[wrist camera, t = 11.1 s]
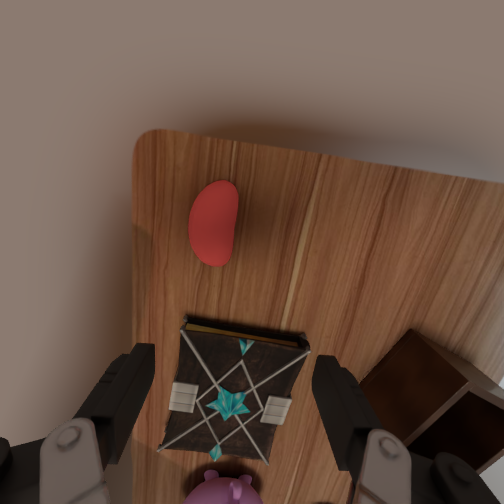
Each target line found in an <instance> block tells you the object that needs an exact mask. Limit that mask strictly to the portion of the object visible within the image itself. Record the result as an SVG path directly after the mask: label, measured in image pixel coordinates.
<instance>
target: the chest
mask: <svg viewBox="0 0 504 504" xmlns="http://www.w3.org/2000/svg"><path fill="white" fill-rule="evenodd" d="M359 386H360V388H361V389H362V391H363V393H364V394H365V397H366V398H367V400H368V401H369V403H370V405H371V407H372V408H373V410H374V412H375V414H376V415H377V417H378V419H379V421H380V422H381V424H382V426H383V428H384V429H385V431H388V432H390V433H391V434H393V435H394V436H396V437H397V438H398V439H399V440H400V441H401V442H402V443H403V444H404V446H405V447H406V448H407V450H408V451H410V452H413V453H415V454H418V455H421V456H423V457H426V458H429V459H432V460H434V459H435V457H436V455H437V454H438V453H440V452H447V453H450V454H453V455H455V456H457V457H459V458H460V459H462V460H463V461H465V462H466V463H467V464H469V465H470V466H471V467H472V468H473V469H474V470H475V471H476V472H477V473H478V475H479V474H481V473H482V472H483V471H484V470H486V469H487V468H488V467H489V466H491V465H492V464H493V463H494V462H496V461H497V460H498V459H500V458H501V457H502V456H503V455H504V390H503V389H502V388H501V387H500V386H499V385H497V384H496V383H495V382H494V381H492V380H491V379H490V378H489V377H487V376H486V375H485V374H484V373H483V372H481V371H480V370H479V369H478V368H476V367H475V366H474V365H473V364H471V363H469V362H468V361H466V360H464V359H462V358H461V357H459V356H457V355H456V354H454V353H452V352H450V351H449V350H447V349H445V348H443V347H442V346H440V345H438V344H437V343H435V342H433V341H431V340H430V339H428V338H426V337H424V336H423V335H421V334H419V333H418V332H416V331H414V330H412V329H410V330H409V331H408V332H407V333H406V334H405V335H404V336H403V337H402V339H401V340H400V341H399V342H398V343H397V344H396V345H395V346H394V347H393V348H392V349H391V351H390V352H389V353H388V354H387V355H386V356H385V357H384V358H383V359H382V360H381V361H380V363H379V364H378V365H377V366H376V367H375V368H374V369H373V370H372V371H371V372H370V373H369V375H368V376H367V377H366V378H365V379H364V380H363V381H362V382H361V383H360V384H359Z"/></svg>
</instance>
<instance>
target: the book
mask: <svg viewBox="0 0 504 504" xmlns="http://www.w3.org/2000/svg"><path fill="white" fill-rule="evenodd" d="M183 321H184V322H186V325H185V326H184V325H183V326H181V328H180V332H181V338H180V353H179V367H178V370H177V373H176V376H175V379H174V382H173V387H172V393H171V398H170V404H169V410H172V414H171V417H170V420H169V422H168V425H167V426H166V428H165V431H164V432H165V433H166V434H165V437H164V440H163V442H162V445H161V444H159V446H158V449H157V451H158V452H160V451H161V450H163V449H173V450H186V451H197V452H205V453H209V454H210V456H211V457H212V459H213V460H214V462H215V461H216V460H217V459H218V458H219V457H220V456H221V455H229V456H236V457H242V458H247V459H253V460H258V461H264V462H265V464H266V465H269V460H268V459H269V457H270V452H271V447H272V443H273V438H274V433H275V430H276V427H277V425H278V424H279V425H283V422H284V420H285V417H286V414H287V412H288V409H289V406H290V404H291V401H292V398H291V393H290V392H291V390H292V387H293V385H294V382H295V380H296V378H297V376H298V374H299V372H300V370H301V368H302V366H303V363H304V361H305V359H306V357H307V355H308V354H309V353H311V350H310V345H309V342H308V341H307V340H306V339H307V337H306V334H305V333H303V334H302V335H300V336H297V335H290V334H282V333H275V332H268V331H262V330H256V329H250V328H244V327H238V326H232V325H226V324H221V323H215V322H210V321H205V320H200V319H195V318H190V317H188V316H187V315H185V316H184V318H183Z"/></svg>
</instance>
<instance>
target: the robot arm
mask: <svg viewBox="0 0 504 504" xmlns="http://www.w3.org/2000/svg"><path fill="white" fill-rule="evenodd" d="M154 374H155V345H154V344H150V343H137V344H136V345H135V346H134V348H133V349H132V351H131V353H130V354H122V355H120V356H119V357H118V358H117V359H115V360H114V361H113V362H112V363H111V364H110V366H109V367H108V368H107V370H106V371H105V374H104V375H103V376H102V377H101V379H100V380H99V383H97V384H96V386H95V387H94V389H93V390H92V391H91V393H90V394H89V396H88V397H87V399H86V400H85V402H84V403H83V404H82V406H81V407H80V409H79V410H78V412H77V413H76V414H75V416H74V417H73V418H72V419H71V420H69V421H67V422H65V423H63V424H61V425H59V426H58V427H57V428H55V429H54V430H53V431H52V432H51V433H50V434H49V435H48V436H47V437H46V438H43V439H40V440H36V441H33V442H29V443H25V444H21V445H17V446H13V447H10V444H9V442H8V440H6V439H5V438H2V437H0V504H111V503H110V498H109V493H108V488H107V484H106V481H105V478H104V470H105V468H106V466H107V464H118V462H119V459H120V457H121V455H122V452H123V450H124V448H125V445H126V443H127V440H128V438H129V436H130V434H131V431H132V429H133V427H134V424H135V422H136V420H137V417H138V415H139V413H140V410H141V408H142V406H143V403H144V401H145V399H146V396H147V394H148V392H149V389H150V387H151V385H152V382H153V379H154ZM312 391H313V395H314V398H315V401H316V404H317V407H318V410H319V413H320V416H321V419H322V421H323V424H324V427H325V430H326V433H327V436H328V439H329V442H330V445H331V448H332V451H333V454H334V457H335V460H336V463H337V466H338V469H339V471H349V472H350V475H351V477H352V481H351V484H350V488H349V492H348V497H347V501H346V504H501V503H500V502H499V501H498V500H497V498H496V497H495V496H494V494H493V493H492V492H491V490H490V489H489V488H488V486H487V485H486V484H485V482H484V481H483V480H482V478H481V477H480V476H479V475H478V473H477V472H476V471H475V470H474V469H473V468H472V467H471V466H470V465H469V464H467V463H466V462H465V461H463V460H462V459H460V458H459V457H457V456H455V455H453V454H450V453H447V452H440V453H438V454H437V455H436V457H435V459H434V460H432V459H429V458H426V457H423V456H421V455H418V454H415V453H413V452H410V451H408V450H407V448H406V447H405V446H404V444H403V443H402V442H401V441H400V440H399V439H398V438H397V437H396V436H394V435H393V434H391V433H390V432H388V431H385V429H384V428H383V426H382V424H381V422H380V421H379V419H378V417H377V415H376V414H375V412H374V410H373V408H372V407H371V405H370V403H369V401H368V400H367V398H366V397H365V394H364V393H363V391H362V389H361V388H360V386H359V384H358V382H357V380H356V379H355V377H354V376H353V375H352V374H351V373H350V372H349V371H348V370H347V369H346V368H343V367H340V365H339V363H338V361H337V359H336V357H335V356H330V355H318V357H317V360H316V364H315V368H314V372H313V376H312Z"/></svg>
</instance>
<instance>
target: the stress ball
mask: <svg viewBox="0 0 504 504" xmlns="http://www.w3.org/2000/svg"><path fill="white" fill-rule="evenodd" d="M238 203H239V196H238V192H237V189H236V188H235V186H234V185H233V184H232V183H230V182H228V181H226V180H220V181H215V182H213V183H211V184H209V185H208V186H206V187H205V188H204V189H203V190H202V191H201V192H200V193H199V195H198V196H197V198H196V200H195V201H194V203H193V206H192V209H191V212H190V216H189V223H188V234H189V239H190V244H191V246H192V248H193V250H194V253H195V254H196V255H197V257H198V258H199V259H200V260H201V261H202V262H204V263H206V264H208V265H210V266H216V267H219V266H223V265H224V264H226V263H227V262H228V261H229V259H230V257H231V254H232V250H233V243H234V228H235V223H236V218H237V212H238Z"/></svg>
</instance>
